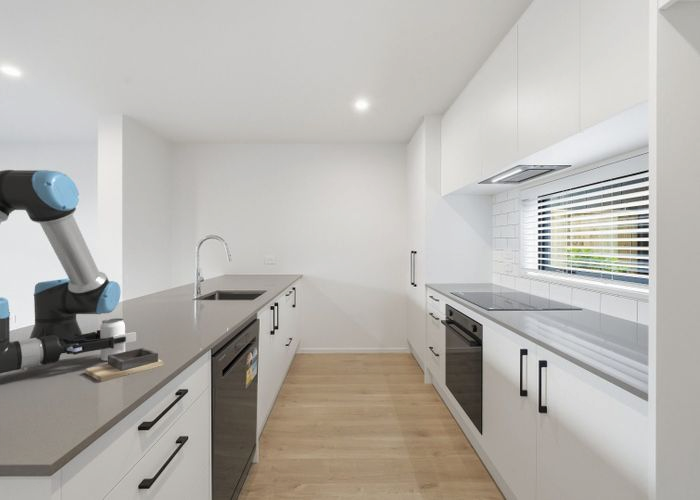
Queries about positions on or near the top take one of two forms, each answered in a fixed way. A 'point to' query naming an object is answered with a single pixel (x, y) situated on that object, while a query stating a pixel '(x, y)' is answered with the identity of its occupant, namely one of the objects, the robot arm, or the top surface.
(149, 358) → the seat block
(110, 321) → the can
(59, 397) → the top surface
